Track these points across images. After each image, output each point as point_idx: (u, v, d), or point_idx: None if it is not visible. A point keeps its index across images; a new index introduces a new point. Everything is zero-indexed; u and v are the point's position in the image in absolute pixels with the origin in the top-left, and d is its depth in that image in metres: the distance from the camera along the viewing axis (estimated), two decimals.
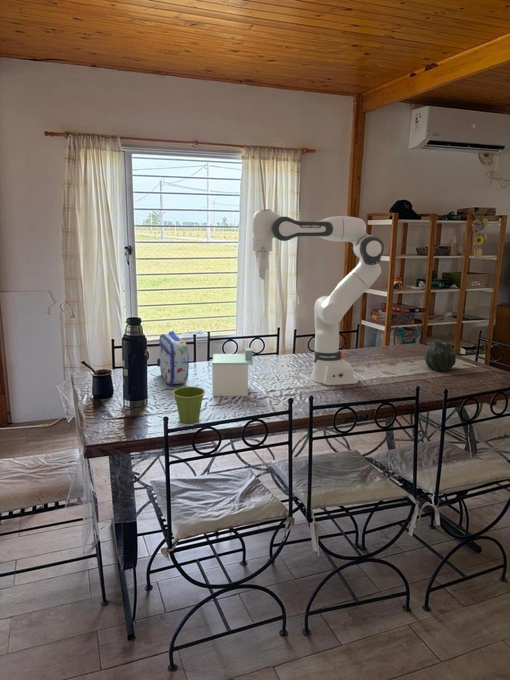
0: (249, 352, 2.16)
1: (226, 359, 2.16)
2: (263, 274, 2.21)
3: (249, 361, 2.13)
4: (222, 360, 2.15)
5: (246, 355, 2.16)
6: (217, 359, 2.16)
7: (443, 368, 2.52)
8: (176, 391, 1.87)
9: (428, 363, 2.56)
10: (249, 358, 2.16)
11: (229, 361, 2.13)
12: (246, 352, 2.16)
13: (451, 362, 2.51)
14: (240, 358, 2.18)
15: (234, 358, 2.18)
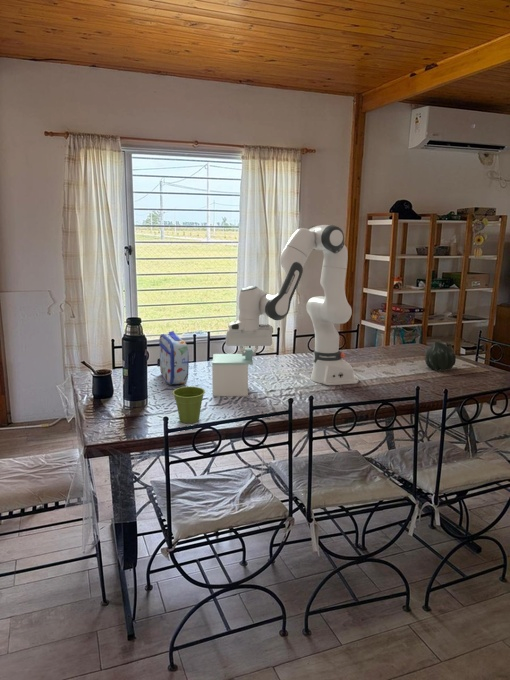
0: (249, 352, 2.16)
1: (226, 359, 2.16)
2: (256, 350, 2.18)
3: (249, 361, 2.13)
4: (222, 360, 2.15)
5: (246, 355, 2.16)
6: (217, 359, 2.16)
7: (443, 368, 2.52)
8: (176, 391, 1.87)
9: (428, 363, 2.56)
10: (249, 358, 2.16)
11: (229, 361, 2.13)
12: (246, 352, 2.16)
13: (451, 362, 2.51)
14: (240, 358, 2.18)
15: (234, 358, 2.18)
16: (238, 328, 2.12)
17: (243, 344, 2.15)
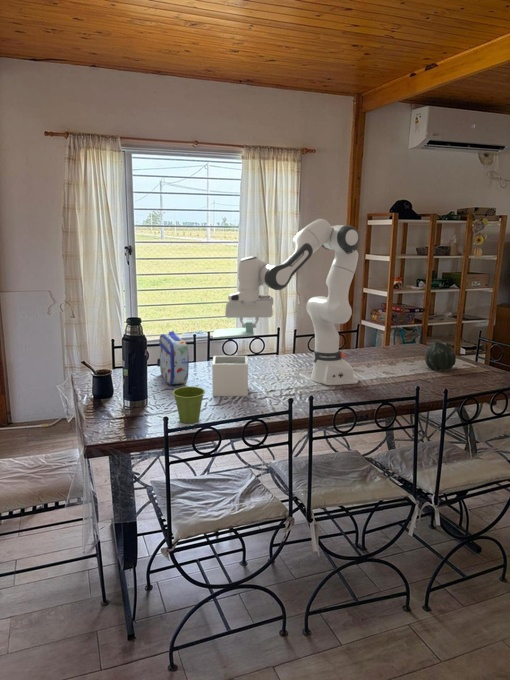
0: (249, 324, 2.13)
1: (227, 333, 2.14)
2: (256, 322, 2.16)
3: (250, 333, 2.11)
4: (223, 334, 2.12)
5: (246, 327, 2.13)
6: (217, 333, 2.14)
7: (443, 368, 2.52)
8: (176, 391, 1.87)
9: (428, 363, 2.56)
10: (250, 330, 2.13)
11: (230, 334, 2.11)
12: (246, 324, 2.13)
13: (451, 362, 2.51)
14: (241, 331, 2.15)
15: (235, 331, 2.15)
16: (238, 299, 2.09)
17: (243, 315, 2.13)
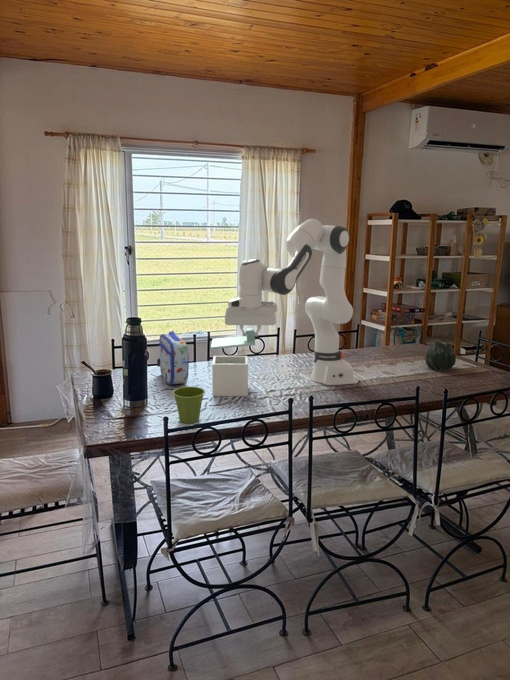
0: (250, 332, 1.96)
1: (226, 342, 1.97)
2: (258, 330, 1.99)
3: (251, 342, 1.94)
4: (222, 343, 1.96)
5: (247, 336, 1.97)
6: (216, 343, 1.97)
7: (443, 368, 2.52)
8: (176, 391, 1.87)
9: (428, 363, 2.56)
10: (251, 339, 1.97)
11: (229, 344, 1.94)
12: (247, 332, 1.96)
13: (451, 362, 2.51)
14: (241, 340, 1.99)
15: (235, 340, 1.99)
16: (239, 305, 1.93)
17: (244, 323, 1.96)
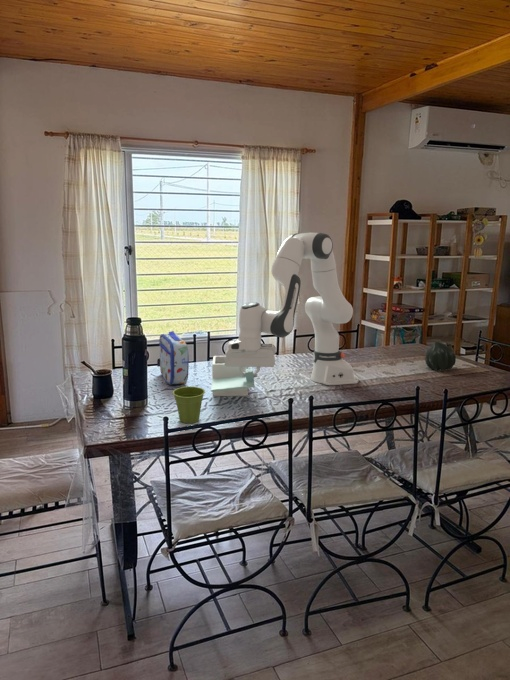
0: (250, 374, 2.00)
1: (226, 384, 2.01)
2: None
3: (250, 384, 1.98)
4: (222, 385, 1.99)
5: (247, 377, 2.00)
6: (216, 384, 2.01)
7: (443, 368, 2.52)
8: (176, 391, 1.87)
9: (428, 363, 2.56)
10: (250, 380, 2.01)
11: (229, 386, 1.98)
12: (246, 374, 2.00)
13: (451, 362, 2.51)
14: (241, 381, 2.03)
15: (234, 382, 2.03)
16: (238, 348, 1.97)
17: (243, 365, 2.00)
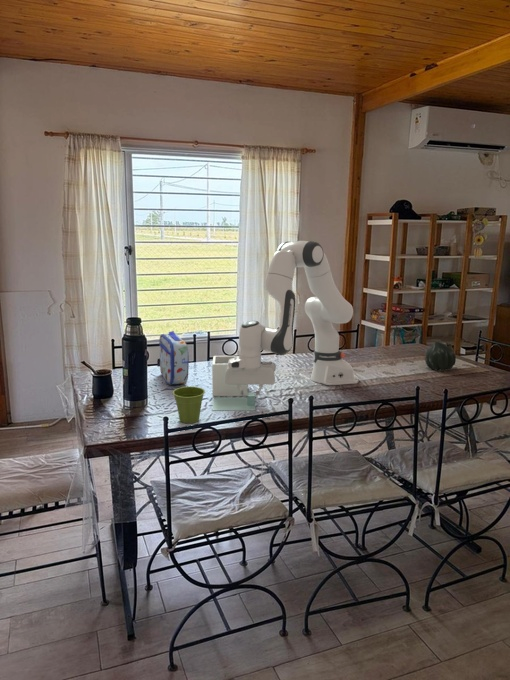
0: (251, 397, 2.02)
1: (227, 405, 2.03)
2: None
3: (251, 408, 2.00)
4: (223, 406, 2.01)
5: (248, 401, 2.03)
6: (217, 405, 2.03)
7: (443, 368, 2.52)
8: (176, 391, 1.87)
9: (428, 363, 2.56)
10: (251, 404, 2.03)
11: (230, 408, 2.00)
12: (248, 398, 2.02)
13: (451, 362, 2.51)
14: (242, 403, 2.05)
15: (235, 403, 2.05)
16: (238, 366, 1.98)
17: (244, 383, 2.02)
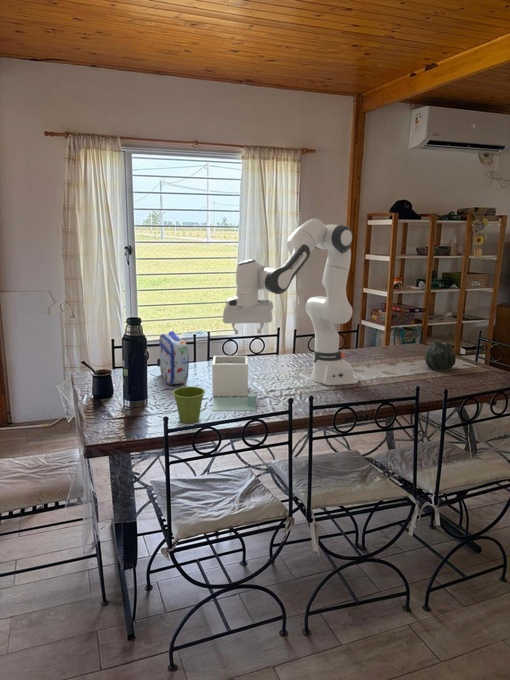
0: (252, 398, 2.02)
1: (227, 405, 2.03)
2: (261, 327, 2.08)
3: (252, 408, 2.00)
4: (223, 406, 2.01)
5: (249, 401, 2.03)
6: (218, 405, 2.03)
7: (443, 368, 2.52)
8: (176, 391, 1.87)
9: (428, 363, 2.56)
10: (252, 404, 2.03)
11: (230, 408, 2.00)
12: (249, 398, 2.02)
13: (451, 362, 2.51)
14: (242, 403, 2.05)
15: (236, 403, 2.05)
16: (236, 304, 2.01)
17: (242, 321, 2.04)
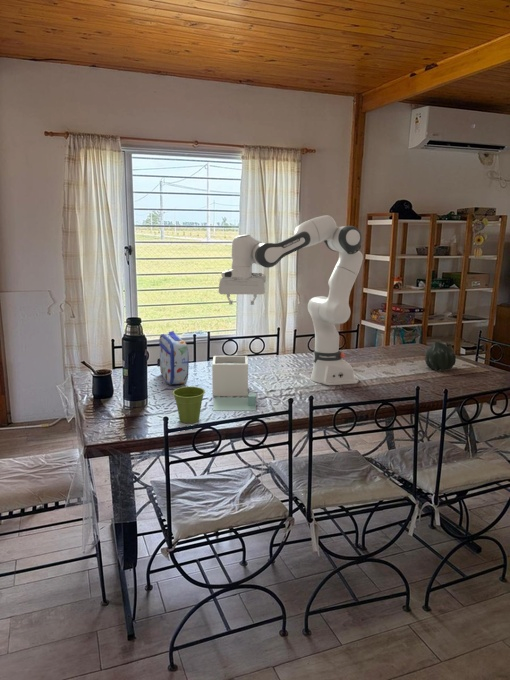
0: (252, 398, 2.02)
1: (228, 405, 2.03)
2: (254, 299, 2.21)
3: (252, 408, 2.00)
4: (223, 406, 2.01)
5: (249, 401, 2.02)
6: (218, 405, 2.03)
7: (443, 368, 2.52)
8: (176, 391, 1.87)
9: (428, 363, 2.56)
10: (252, 404, 2.03)
11: (231, 408, 2.00)
12: (249, 398, 2.02)
13: (451, 362, 2.51)
14: (243, 404, 2.05)
15: (236, 404, 2.05)
16: (231, 276, 2.15)
17: (236, 292, 2.18)
